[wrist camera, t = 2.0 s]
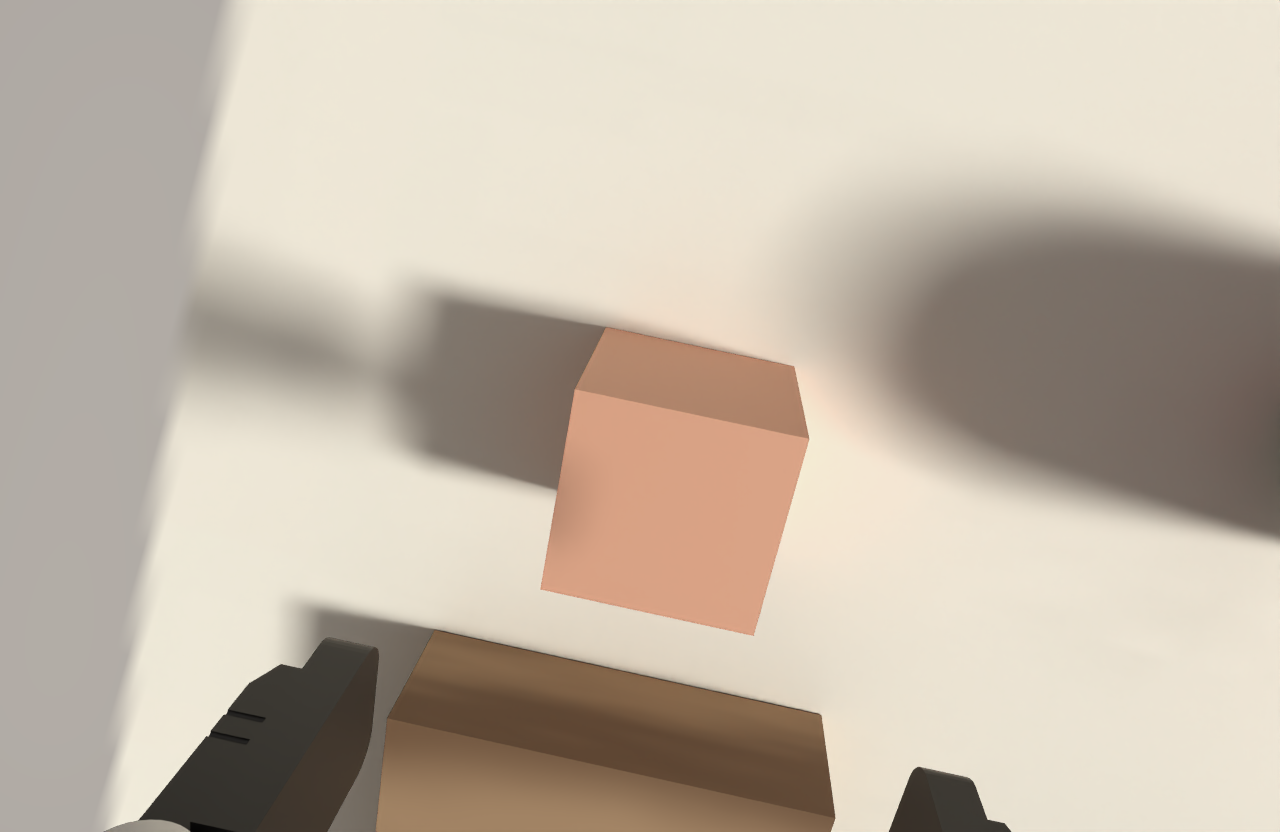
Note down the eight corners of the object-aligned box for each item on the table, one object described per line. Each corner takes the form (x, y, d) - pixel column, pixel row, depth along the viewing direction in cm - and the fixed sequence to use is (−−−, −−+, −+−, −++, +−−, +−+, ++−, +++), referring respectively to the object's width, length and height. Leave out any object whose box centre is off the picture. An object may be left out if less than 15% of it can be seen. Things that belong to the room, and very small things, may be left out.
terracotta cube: (606, 326, 23) (574, 388, 19) (794, 366, 23) (809, 439, 18) (576, 493, 25) (540, 589, 20) (749, 531, 25) (753, 635, 20)
